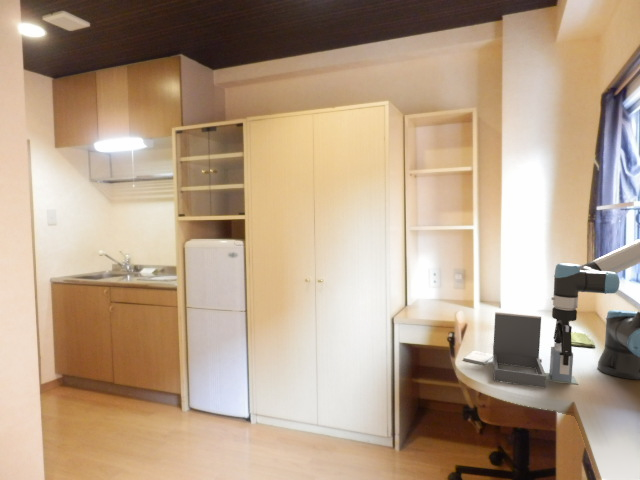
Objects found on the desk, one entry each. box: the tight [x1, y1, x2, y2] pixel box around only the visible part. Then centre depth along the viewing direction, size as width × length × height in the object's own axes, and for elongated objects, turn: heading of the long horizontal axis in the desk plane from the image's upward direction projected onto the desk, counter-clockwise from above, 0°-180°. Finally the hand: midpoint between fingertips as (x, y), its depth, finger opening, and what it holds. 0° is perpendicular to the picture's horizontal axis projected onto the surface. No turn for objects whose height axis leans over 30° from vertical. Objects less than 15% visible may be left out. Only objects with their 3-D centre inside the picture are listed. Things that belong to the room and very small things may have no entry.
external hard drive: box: [462, 350, 493, 366], centre depth 178 cm, size 2×8×12 cm
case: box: [492, 311, 547, 389], centre depth 162 cm, size 17×21×20 cm
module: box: [548, 346, 574, 382], centre depth 158 cm, size 6×6×10 cm
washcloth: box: [571, 331, 596, 348], centre depth 205 cm, size 13×18×3 cm
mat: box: [545, 372, 579, 386], centre depth 159 cm, size 10×7×1 cm
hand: (560, 367), depth 158 cm, fingers open, 13 cm apart
